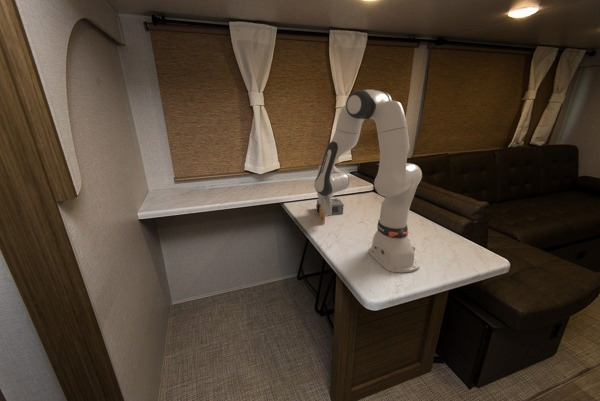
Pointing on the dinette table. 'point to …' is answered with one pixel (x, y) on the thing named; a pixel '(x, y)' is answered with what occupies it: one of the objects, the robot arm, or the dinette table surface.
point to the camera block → (333, 206)
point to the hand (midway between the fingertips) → (324, 215)
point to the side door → (322, 215)
